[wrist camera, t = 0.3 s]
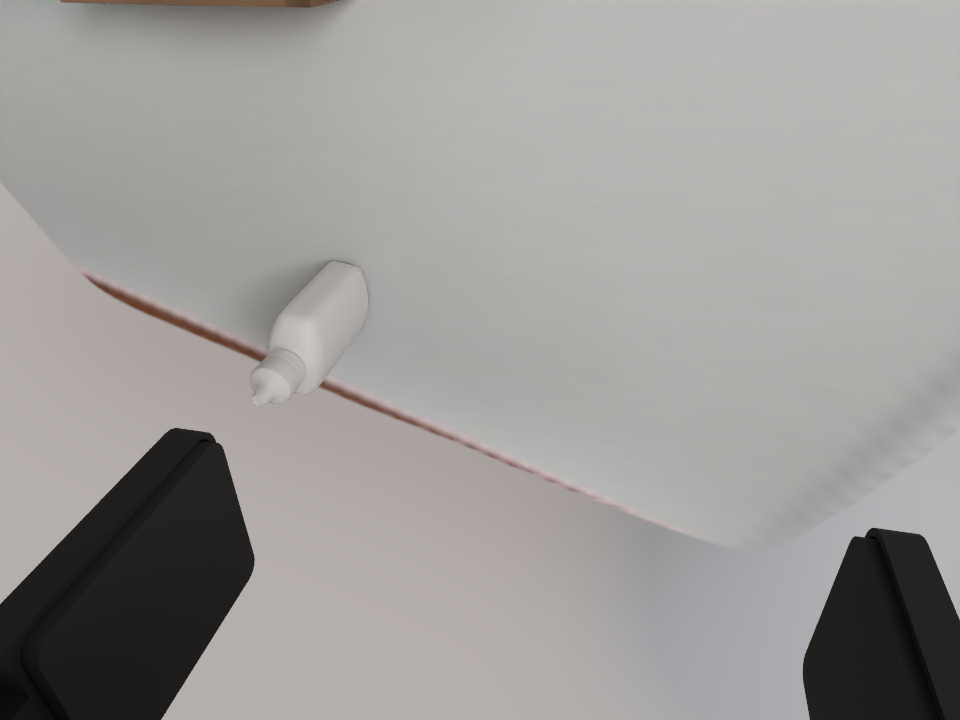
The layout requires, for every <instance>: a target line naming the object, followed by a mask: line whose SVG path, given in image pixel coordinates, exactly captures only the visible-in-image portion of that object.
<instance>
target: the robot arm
mask: <svg viewBox="0 0 960 720" xmlns="http://www.w3.org/2000/svg"><path fill="white" fill-rule="evenodd" d="M253 567H254V554H253V550H252V547H251V543H250V540H249V536H248V533H247V529H246V526H245V523H244V519H243V515H242V512H241V508H240V505H239V501H238V498H237V494H236V491H235V488H234V484H233V481H232V477H231V474H230V471H229V467H228V463H227V460H226V456H225V453H224V450H223V447H222V446H221V445H220V444H219V443H216V441H215V439H214V437H213V436H212V435H211V434H210V433H207V432H201V431H193V430H187V429H179V428H174V429H171V430H169V431H168V432H167V433H165V434H164V435H163V437H161V439H160V440H159V441H158V442H157V443H156V444H155V445H154V446H153V447H152V448H151V449H150V450H149V451H148V452H147V453H146V454H145V455H144V456H143V457H142V458H141V459H140V460H139V461H138V462H137V463H136V464H135V465H134V467H132V469H131V470H130V471H129V472H128V473H127V474H126V475H125V476H124V477H123V478H122V479H121V480H120V481H119V482H118V483H117V484H116V485H115V486H114V487H113V488H112V489H111V490H110V491H109V492H108V493H107V494H106V495H105V496H104V497H103V499H102V500H101V501H100V502H99V503H98V504H97V505H96V506H95V507H94V508H93V509H92V510H91V511H90V512H89V513H88V514H87V515H86V516H85V517H84V518H83V519H82V520H81V521H80V522H79V523H78V525H76V527H75V528H74V529H73V530H72V531H71V532H70V533H69V534H68V535H67V536H66V537H65V538H64V539H63V540H62V541H61V542H60V543H59V544H58V545H57V546H56V547H55V548H54V549H53V550H52V551H51V552H50V553H49V554H48V555H47V556H46V558H45V559H44V560H43V561H42V562H41V563H40V564H39V565H38V566H37V567H36V568H35V569H34V570H33V571H32V572H31V573H30V574H29V575H28V576H27V577H26V578H25V579H24V580H23V581H22V582H21V584H20V585H18V586H17V588H16V589H15V590H14V591H13V592H12V593H11V594H10V595H9V596H8V597H7V598H6V599H5V600H4V601H3V602H2V603H1V604H0V720H161V719H162V717H163V716H164V714H165V713H166V711H167V709H168V708H169V706H170V704H171V703H172V701H173V700H174V698H175V697H176V695H177V693H178V692H179V690H180V688H181V687H182V685H183V684H184V682H185V681H186V679H187V677H188V675H189V674H190V673H191V671H192V670H193V668H194V666H195V664H196V663H197V662H198V660H199V658H200V657H201V655H202V654H203V652H204V650H205V649H206V647H207V646H208V644H209V642H210V641H211V639H212V637H213V636H214V634H215V633H216V631H217V630H218V628H219V626H220V625H221V623H222V622H223V620H224V619H225V617H226V615H227V614H228V612H229V611H230V609H231V607H232V606H233V604H234V603H235V601H236V599H237V598H238V596H239V595H240V593H241V591H242V590H243V588H244V587H245V585H246V583H247V582H248V580H249V578H250V576H251V574H252V571H253ZM803 681H804V688H805V694H806V699H807V705H808V711H809V716H810V720H960V620H959V617H958V615H957V613H956V610H955V608H954V605H953V603H952V601H951V598H950V596H949V593H948V591H947V589H946V586H945V584H944V581H943V579H942V576H941V574H940V572H939V569H938V567H937V565H936V562H935V560H934V557H933V555H932V552H931V550H930V548H929V545H928V543H927V541H926V540H925V538H924V537H923V536H921V535H920V534H913V533H906V532H899V531H892V530H884V529H878V528H871V529H870V530H869V531H868V532H867V534H866V536H865V538H863V537H856V536H855V537H853V538H852V540H851V542H850V544H849V546H848V549H847V551H846V554H845V556H844V559H843V561H842V564H841V566H840V569H839V571H838V574H837V576H836V579H835V581H834V584H833V586H832V589H831V591H830V594H829V596H828V599H827V601H826V604H825V606H824V609H823V611H822V614H821V616H820V619H819V621H818V624H817V626H816V629H815V631H814V634H813V636H812V639H811V641H810V644H809V646H808V649H807V651H806V654H805V658H804V663H803Z"/></svg>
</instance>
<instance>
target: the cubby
mask: <svg viewBox="0 0 960 720" xmlns="http://www.w3.org/2000/svg"><path fill="white" fill-rule="evenodd" d="M60 1H61V2H69V3H119V4H169V5H219V6H270V7H314V6H318V5H322V4H326V3H330V2H334V1H337V0H60Z"/></svg>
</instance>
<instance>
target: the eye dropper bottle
mask: <svg viewBox="0 0 960 720" xmlns="http://www.w3.org/2000/svg"><path fill="white" fill-rule="evenodd" d="M367 310H368V292H367V286H366V282H365V279H364V276H363V274H362V271H361V270H360V269H359V268H358V267H356V266H354V265H350V264H346V263H342V262H338V261H330V262H329V263H328V264H326V265H325V266H324V267H323V269H322V270H321V271H320V272H319V273H318V274H317V275H316V276H315V277H314V278H313V279H312V280H311V281H310V282H309V283H308V284H307V285H306V286H305V287H304V288H303V289H302V290H301V291H300V292H299V293H298V294H297V295H296V296H295V297H294V298H293V299H292V300H291V301H290V303H289V304H288V305H287V306H286V307H285V308H284V309H283V310H282V312H281V313H280V314H279V316H278V317H277V319H276V321H275V323H274V325H273V327H272V330H271V333H270V337H269V342H268V355H267V356H266V357H265V359H264V360H263V361H262V362H261V363H260V364H259V365H258V366H257V367H256V368H255V370H254V371H253V372H252V373H251V377H250V383H251V386H252V388H253V390H254V394H253V396H252V398H251V399H252V403H253V404H254V405H256V406H258V407H261V406H263V405H264V404H266V403H267V402H269V403H273V404H280V403H284V402H286V401H287V400H288V399H289V398H290V397H291V396H292V395H293V393H298V394H310V393H312V392H314V391H315V390H316V389H317V388H318V387H319V385H320V384H321V383H322V382H323V380H324V379H325V378H326V376H327V375H328V374H329V372H330V371H331V370H332V368H333V367H334V366H335V364H336V363H337V362H338V360H339V359H340V358H341V356H342V355H343V354H344V352H345V351H346V350H347V348H348V347H349V346H350V344H351V343H352V342H353V340H354V339H355V338H356V336H357V335H358V333H359V332H360V330H361V328H362V326H363V324H364V321H365V318H366V315H367Z"/></svg>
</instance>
